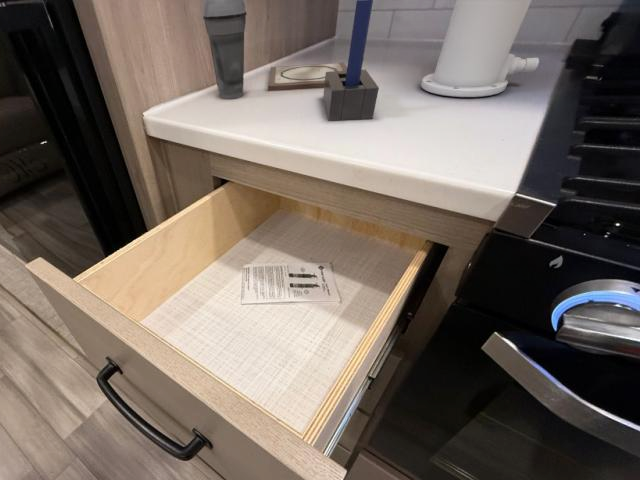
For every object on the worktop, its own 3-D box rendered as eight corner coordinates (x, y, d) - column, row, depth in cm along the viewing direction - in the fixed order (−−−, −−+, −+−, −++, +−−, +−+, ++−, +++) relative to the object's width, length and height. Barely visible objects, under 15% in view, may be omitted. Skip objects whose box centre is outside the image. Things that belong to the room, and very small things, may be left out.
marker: (353, 110, 51) (371, -2, 41) (355, 114, 49) (374, -1, 40) (340, 111, 51) (355, -1, 42) (341, 115, 50) (358, 1, 40)
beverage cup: (246, 100, 58) (237, -65, 44) (208, 101, 60) (187, -59, 45) (253, 89, 63) (247, -63, 49) (217, 90, 65) (202, -57, 50)
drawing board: (343, 66, 71) (344, 61, 70) (353, 85, 60) (354, 79, 59) (271, 71, 73) (271, 66, 72) (268, 90, 62) (268, 84, 61)
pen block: (360, 97, 55) (365, 69, 52) (372, 119, 48) (379, 87, 45) (322, 99, 56) (325, 71, 53) (328, 120, 48) (331, 90, 45)
